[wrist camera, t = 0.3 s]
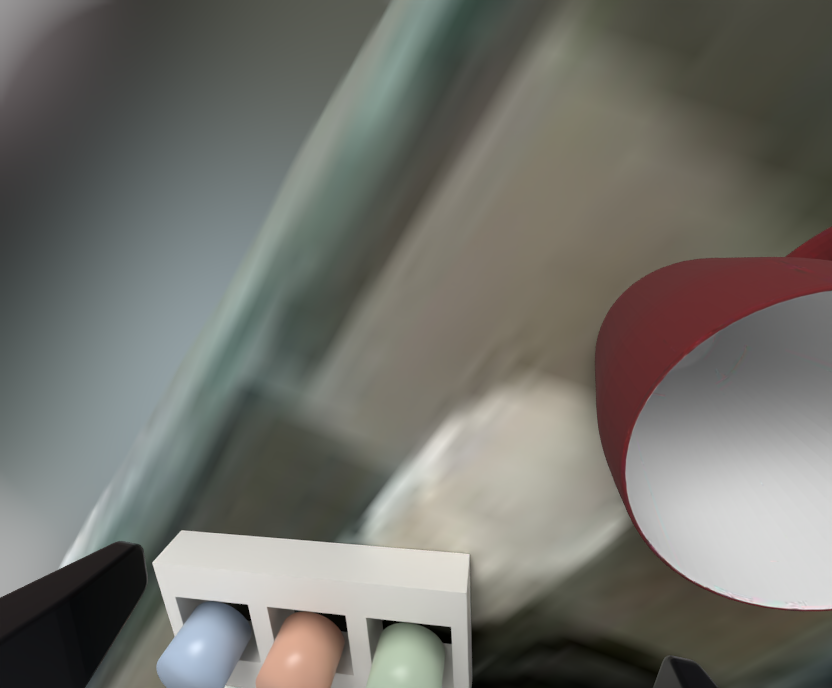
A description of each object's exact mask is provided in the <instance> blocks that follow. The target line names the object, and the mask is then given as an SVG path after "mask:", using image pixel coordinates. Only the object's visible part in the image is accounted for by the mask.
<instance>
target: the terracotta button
mask: <svg viewBox="0 0 832 688" xmlns="http://www.w3.org/2000/svg"><path fill="white" fill-rule="evenodd" d="M344 644H345V642H344V637H343V634H342V632H341V631H340V629H339V628H338V627H337V626H336V624H334V623H333V622H332V621H331V620H329V619H328V618H326V617H324V616H322V615H320V614H317V613H313V612H297V613H293V614H291V615H290V616H288V617H287V618H286V619H285V620H284V622H283V624H282V626H281V628H280V630H279V632H278V635H277V637H276V639H275V641H274V643H273V645H272V647H271V649H270V651H269V653H268V655H267V657H266V659H265V661H264V663H263V665H262V667H261V670H260V672H259V674H258V676H257V678H256V688H331V685H332V682H333V679H334V676H335V673H336V670H337V667H338V664H339V661H340V658H341V655H342V652H343V649H344Z"/></svg>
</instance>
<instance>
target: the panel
mask: <svg viewBox="0 0 832 688" xmlns="http://www.w3.org/2000/svg"><path fill="white" fill-rule="evenodd" d="M153 567H154V570H155V573H156V576H157V580H158V583H159V586H160V590H161V593H162V596H163V599H164V603H165V606H166V609H167V612H168V616H169V619H170V622H171V626H172V629H173V632H174V635H175V636H176V635H177V633H178V632H179V630H180V629H181V628H182V626H183V625H184V623H185V622H186V620H187V619H188V618H189V616H190V615H191V613H192V612H193V611H194V609H195V608H196V607H197V606H198V605H199V604H201V603H204V602H208V601H219V602H228V603H238V604H247V605H248V607H249V612H250V616H251V621H248V620H247V621H248V623H249V625H250V628H251V638H250V641H249V642H248V644H247V646H246V648H245V650H244V652H243V654H242V655H241V657H240V659H239V661H238V663H237V665H236V666H235V668H234V670H233V672H232V674H231V676H230V678H229V679H228V681H227V683H226V685H227V686H234V687H240V688H256V678H257V676H258V674H259V672H260V670H261V667H262V665H263V663H264V661H265V659H266V657H267V655H268V653H269V651H270V649H271V647H272V645H273V643H274V641H275V639H276V637H277V635H278V632H279V630H280V628H281V626H282V624H283V622H284V620H285V619H286V618H287V617H288V616H290V615H291V614H293V613H295V612H294V610H301V611H310V612H319V613H328V614H338V615H345V616H346V623H347V630H348V632H343V631H341V632H342V634H343V637H344V642H345V644H344V649H343V652H342V655H341V658H340V661H339V664H338V667H337V670H336V673H335V676H334V679H333V682H332V685H331V688H366V685H367V681H368V677H369V674H370V670H371V666H372V662H373V658H374V654H375V651H376V647H377V643H378V639H379V636H380V634H381V632H382V631H383V623H382V619H383V620H392V621H401V622H410V623H419V624H428V625H437V626H447V627H451V634H452V644H446V643H443V645H444V648H445V663H444V671H443V680H442V688H472V639H471V595H470V554H464V553H452V552H440V551H428V550H415V549H403V548H391V547H379V546H366V545H354V544H342V543H330V542H318V541H305V540H293V539H281V538H269V537H256V536H244V535H232V534H220V533H208V532H195V531H183V530H181V531H180V533H179V534H178V535H177V536H176V537H175V538H174V539H173V540H172V541H171V543H170V544H169V545H168V546H167V547H166V548H165V549H164V550H163V551H162V553H161V554H160V555H159V556H158V557H157V558H156V559H155V560H154V561H153Z"/></svg>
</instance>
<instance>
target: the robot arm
mask: <svg viewBox="0 0 832 688" xmlns="http://www.w3.org/2000/svg"><path fill="white" fill-rule="evenodd" d="M147 581H148V576H147V570H146V563H145V556H144V550H143V548H142V547H141V545H139V544H135V543H130V542H125V541H118V542H115V543H113V544H111V545H108V546H106V547H104V548H102V549H100V550H98V551H96V552H94V553H92V554H90V555H88V556H86V557H84V558H82V559H79V560H77V561H75V562H73V563H71V564H69V565H67V566H65V567H63V568H61V569H59V570H57V571H55V572H53V573H50V574H49V575H46V576H44V577H42V578H41V579H38V580H36V581H34V582H32V583H30V584H28V585H26V586H24V587H22V588H19V589H17V590H15V591H13V592H11V593H9V594H7V595H5V596H3V597H1V598H0V688H85V687H86V685H87V684H88V682H89V681H90V679H91V678H92V676H93V675H94V673H95V671H96V670H97V668H98V667H99V665H100V664H101V662H102V660H103V659H104V657H105V655H106V654H107V652H108V651H109V649H110V647H111V646H112V644H113V642H114V641H115V639H116V637H117V636H118V634H119V633H120V631H121V629H122V628H123V626H124V624H125V623H126V621H127V620H128V618H129V616H130V615H131V613H132V611H133V610H134V608H135V607H136V605H137V603H138V602H139V600H140V598H141V597H142V595H143V593H144V591H145V589H146V586H147ZM653 688H719V687H718V686H717V685H716V684H715V683H714V682H713V680H712V679H711V678H710V677H709V676H708V674H707V673H706V672H705V671H704V670H703V669H702V667H701V666H700V665H699V664H697V663H696V662H695V661H693V660H690V659H686V658H681V657H676V656H671V655H670V656H666V657H665V658H664V660H663V662H662V665H661V668H660V670H659V673H658V676H657V679H656V681H655V684H654V687H653Z"/></svg>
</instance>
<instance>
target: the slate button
mask: <svg viewBox="0 0 832 688" xmlns="http://www.w3.org/2000/svg"><path fill="white" fill-rule="evenodd" d="M250 638H251V628H250V625H249V623H248V621H247V620H246V619H245V617H244V616H243V615H242V614H241V613H240V612H239V611H237V610H236V609H235V608H233V607H231V606H229V605H227V604H224V603H221V602H215V601H208V602H204V603H201V604H199V605H198V606H197V607H196V608H195V609H194V611H193V612H192V613H191V615H190V616H189V618H188V619H187V620H186V622H185V623H184V625H183V626H182V628H181V629H180V630H179V632H178V633H177V635H176V636H175V637H174V639H173V640H172V642H171V643H170V644H169V646H168V647H167V649H166V650H165V652H164V653H163V654H162V656H161V657H160V659H159V660H158V662H157V673H158V676H159V678H160V680H161V681H162V682H163V684H164V685H165V686H166V687H167V688H224V687H225V685H226V683H227V681H228V679H229V678H230V676H231V674H232V672H233V670H234V668H235V666H236V665H237V663H238V661H239V659H240V657H241V655H242V654H243V652H244V650H245V648H246V646H247V644H248V642H249V641H250Z"/></svg>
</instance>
